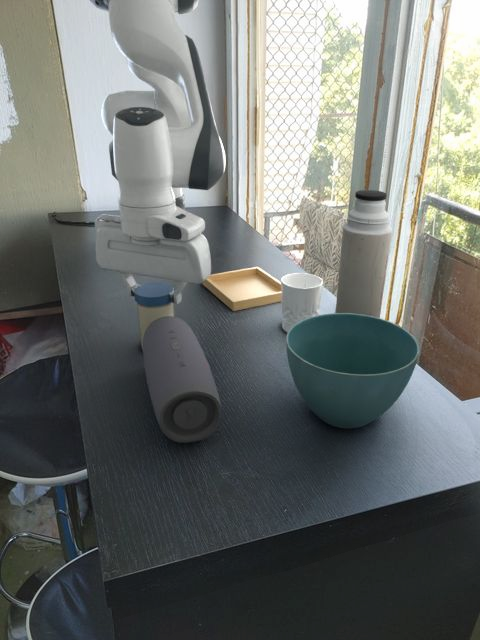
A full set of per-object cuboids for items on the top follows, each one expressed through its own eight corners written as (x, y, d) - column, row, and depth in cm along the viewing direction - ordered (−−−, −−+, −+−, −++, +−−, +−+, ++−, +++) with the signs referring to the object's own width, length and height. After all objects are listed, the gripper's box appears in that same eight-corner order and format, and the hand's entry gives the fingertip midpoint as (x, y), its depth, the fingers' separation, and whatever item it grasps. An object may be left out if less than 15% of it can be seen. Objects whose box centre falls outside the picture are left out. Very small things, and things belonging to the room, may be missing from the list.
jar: (137, 342, 96) (131, 290, 91) (169, 335, 99) (165, 284, 94) (147, 357, 92) (142, 303, 86) (181, 350, 94) (177, 296, 89)
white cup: (323, 322, 105) (327, 276, 100) (313, 340, 98) (317, 290, 94) (285, 316, 107) (287, 270, 102) (274, 333, 101) (275, 284, 96)
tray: (202, 284, 122) (202, 275, 121) (257, 274, 128) (258, 266, 127) (233, 311, 109) (233, 302, 108) (293, 299, 115) (293, 290, 114)
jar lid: (140, 309, 87) (139, 299, 86) (130, 294, 92) (129, 285, 91) (179, 302, 89) (178, 293, 88) (168, 289, 94) (167, 280, 94)
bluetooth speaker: (227, 444, 71) (226, 382, 66) (158, 456, 69) (152, 392, 64) (197, 362, 90) (195, 310, 85) (142, 369, 88) (136, 315, 83)
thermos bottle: (375, 339, 99) (396, 188, 86) (375, 359, 92) (397, 199, 79) (333, 334, 101) (347, 185, 87) (330, 354, 94) (344, 195, 80)
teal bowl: (319, 465, 68) (327, 386, 62) (263, 393, 82) (265, 323, 76) (431, 433, 74) (448, 358, 68) (361, 371, 89) (369, 305, 83)
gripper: (82, 217, 84) (93, 296, 91) (196, 232, 78) (200, 315, 85) (104, 208, 89) (114, 283, 96) (214, 221, 84) (216, 301, 90)
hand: (155, 298), depth 91 cm, fingers closed on jar lid, 6 cm apart
